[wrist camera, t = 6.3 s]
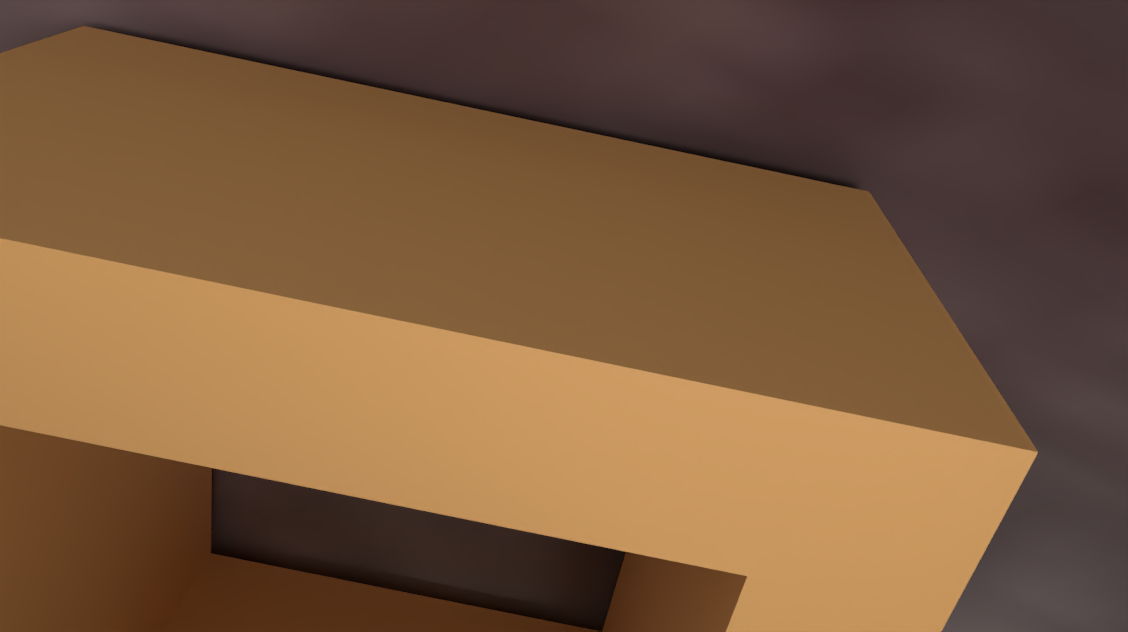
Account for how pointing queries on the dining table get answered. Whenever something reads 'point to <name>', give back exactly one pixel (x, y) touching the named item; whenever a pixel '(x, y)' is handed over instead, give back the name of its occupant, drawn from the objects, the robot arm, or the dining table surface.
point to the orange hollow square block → (459, 358)
